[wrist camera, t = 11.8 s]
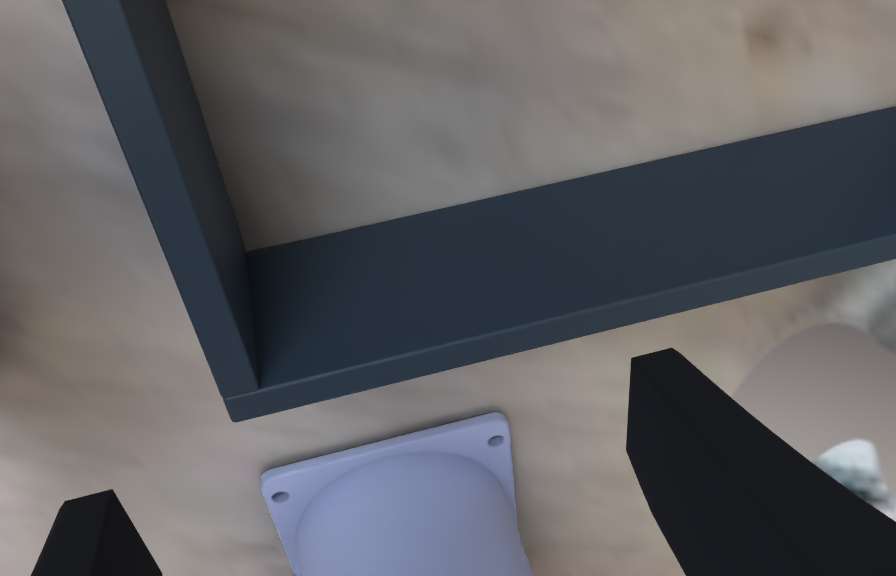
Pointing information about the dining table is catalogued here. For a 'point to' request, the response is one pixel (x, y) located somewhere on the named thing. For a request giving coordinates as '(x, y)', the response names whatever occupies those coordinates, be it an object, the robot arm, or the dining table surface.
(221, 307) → the bin
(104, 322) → the dining table surface
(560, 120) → the dining table surface
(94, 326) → the dining table surface
